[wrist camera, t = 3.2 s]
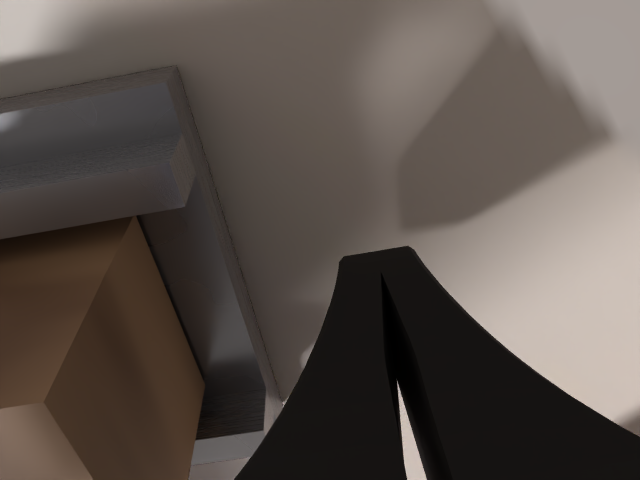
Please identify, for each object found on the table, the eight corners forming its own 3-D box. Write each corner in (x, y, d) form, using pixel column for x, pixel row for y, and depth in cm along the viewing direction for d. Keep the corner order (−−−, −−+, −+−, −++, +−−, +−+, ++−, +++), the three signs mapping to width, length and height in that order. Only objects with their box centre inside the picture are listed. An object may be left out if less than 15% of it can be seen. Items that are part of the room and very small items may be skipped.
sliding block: (22, 413, 13) (-98, 647, 9) (-88, 252, 11) (-318, 475, 7) (205, 385, 13) (163, 615, 9) (134, 212, 11) (33, 422, 7)
